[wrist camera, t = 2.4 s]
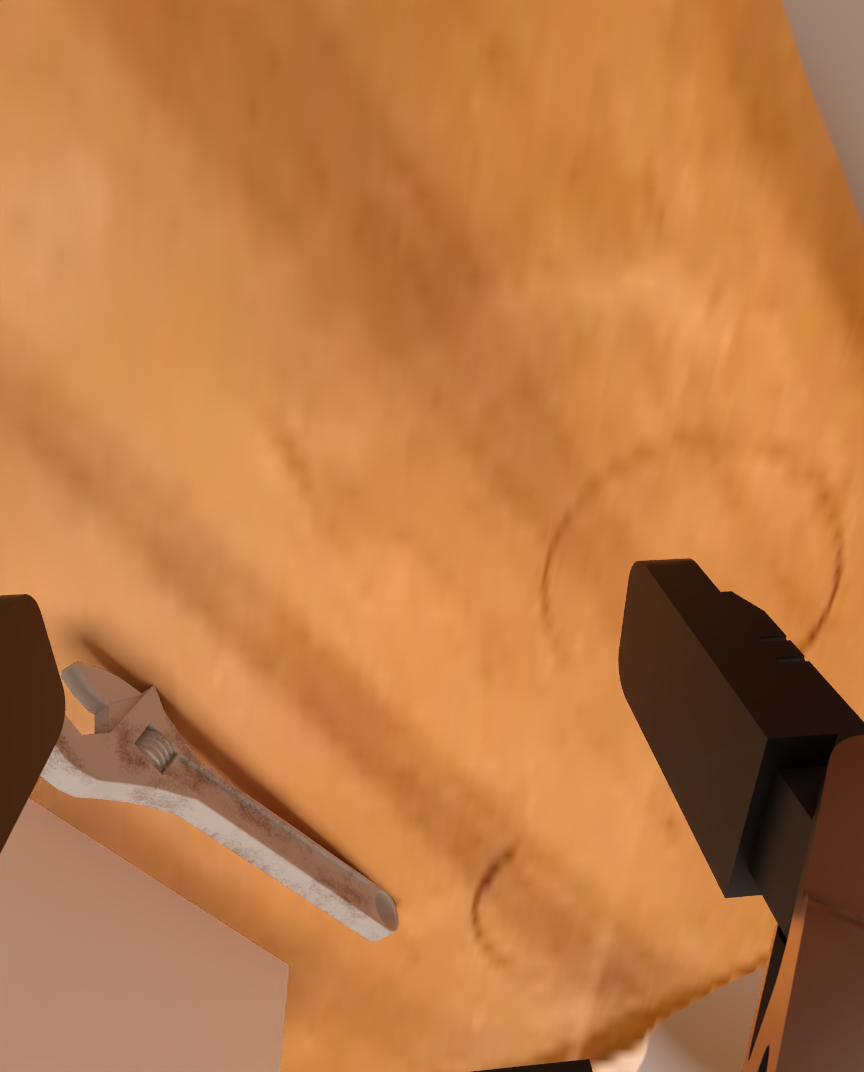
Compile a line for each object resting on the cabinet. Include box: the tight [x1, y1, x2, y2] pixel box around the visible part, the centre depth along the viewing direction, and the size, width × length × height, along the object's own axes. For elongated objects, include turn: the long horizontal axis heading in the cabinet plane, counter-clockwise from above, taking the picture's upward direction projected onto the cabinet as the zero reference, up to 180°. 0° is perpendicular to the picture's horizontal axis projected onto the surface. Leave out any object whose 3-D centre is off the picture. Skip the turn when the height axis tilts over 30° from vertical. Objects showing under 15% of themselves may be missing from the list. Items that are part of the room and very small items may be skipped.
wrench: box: [40, 661, 399, 942], centre depth 44 cm, size 8×2×30 cm
